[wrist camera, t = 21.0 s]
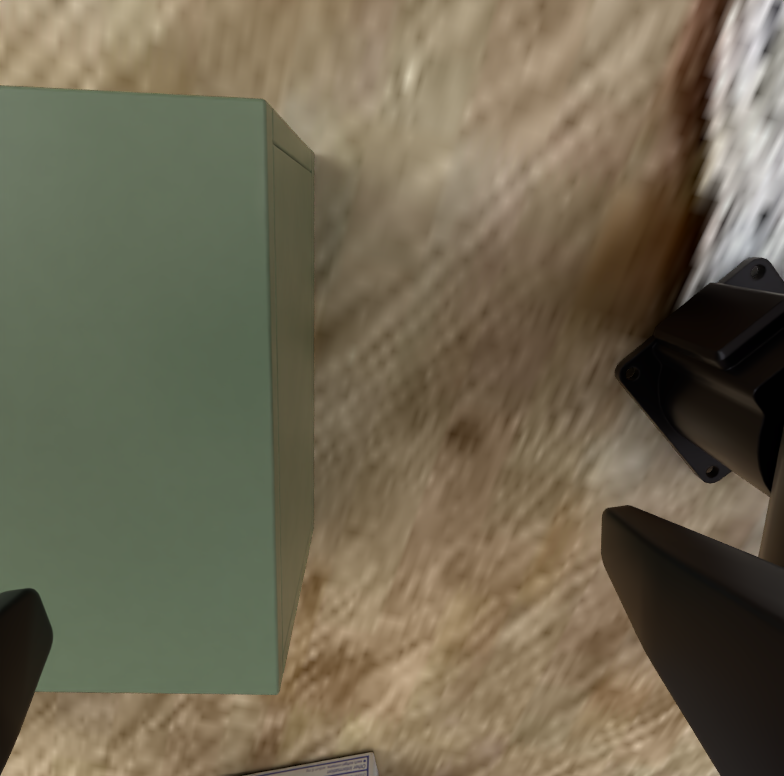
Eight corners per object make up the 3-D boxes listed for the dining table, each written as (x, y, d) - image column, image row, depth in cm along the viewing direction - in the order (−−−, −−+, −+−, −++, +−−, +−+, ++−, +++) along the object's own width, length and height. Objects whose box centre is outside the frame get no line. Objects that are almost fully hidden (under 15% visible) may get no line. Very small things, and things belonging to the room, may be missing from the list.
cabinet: (-44, 520, 22) (-285, 689, 14) (-126, 131, 18) (-533, 56, 10) (313, 528, 23) (279, 696, 15) (314, 152, 19) (265, 97, 10)
